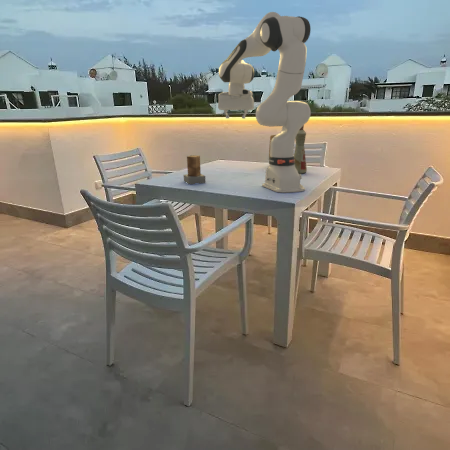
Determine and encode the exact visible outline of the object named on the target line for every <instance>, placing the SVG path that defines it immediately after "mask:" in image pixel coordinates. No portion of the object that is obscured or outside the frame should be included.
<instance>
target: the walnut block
mask: <svg viewBox="0 0 450 450" xmlns="http://www.w3.org/2000/svg"><path fill="white" fill-rule="evenodd" d="M186 163H187V165H186V167H187V174H188V176H195V177H197V176H199V175H201V174H202V173H201V171H202V170H201V155H196V154H195V155H192V154H191V155H187V156H186Z"/></svg>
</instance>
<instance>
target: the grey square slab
mask: <svg viewBox="0 0 450 450" xmlns="http://www.w3.org/2000/svg"><path fill="white" fill-rule="evenodd" d="M184 181H185V182H184ZM183 182H184V183H186V182H187V183H188V184H187V183H186V184H187V185H189V184H190V185H196V184H195V183H199V184H206V183H205V182H206V175H204V174H202V173H201V175H199V176H197V177H195V176H188V173H186V174H183Z"/></svg>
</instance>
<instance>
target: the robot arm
mask: <svg viewBox="0 0 450 450" xmlns="http://www.w3.org/2000/svg"><path fill="white" fill-rule="evenodd" d="M310 23H311V22H310V21H309V19H307V18H306V17H304V16H299V15H298V16H289V15H282V16H281V14H279V13H278V12H276V11H269V12H267V13H266V14H265V15H264V16H263V17H262V19H261V20H260V21H259V22H258V23H257V25H256V27H255V28H254V30H253V32H251V34H250V35H248V36H247V37H246V38H244V39H242V40H240V41H239V42H238V44H237V45H236V46H235V47H234V49H233V50H232V51H231V52H230V54H229V55H228V56H227V58H226V59H225V60H224V61H223V62H222V63H221V64H220V66H219V68H218V77H219V78H220V79H221V81H222V82H223V83H229V84H228V92H224V91H223V92H220V93H219V94H218V97H217V98H218V104H217V109H219V111H223V113H224V115H225V119H230V114H228V111H244V113H243V114H242V115H241V119H246V115H247V114H248V112H249V111H253V110H254V108H255V99H254V97H253V91H251V90H249V89H246V88H245V84H250V83H251V82H252V81H253V80H254V78H255V69H254V67H253V66H252V64H251V63H248V62H247V63H246V62H245V61H244V60H243V59H247V58H253V57H254V58H255V57H257V58H258V57H264V56H266V55H268V54H269V53H270V52H271V51H272V52H274V53H275V52H277V51H278V52H279V56H280V57H279V61H278V62H279V63H278V67H277V68H278V69H277V75H276V78H275V83H274V86H273V90H271V93H270V94H269V95H268V96H267V98H266V99H265V100H264V101H263V102H261V103H260V104H259V105H258V106H257V107H256V110H255V119H256V121H257V123H258V124H259V125H260V126H265V127H282V128H281V131H280V132H279V133H277V134H275V135H276V136H274V137H273V138H272V140H271V142H270V141H269V146H270V156H269V155H268V164H269V165H268V166H267V167H266V169H265V178H264V183H262V184H261V187H263V188H266V189H269V190H271V191H273V192H276V193H298V192H303V191H305V190H306V188H305V187H304V186H303V185H302V184H301V180H302V179H303V177H302V174H298V171H297V170H296V168H295V165H294V164H295V159H294V153H295V143H296V140H295V138H296V135H297V133H298V131H299V130H300V128H301V127H302V126H303V125H304V126H305V125H306V124H307V123H308V121H309V119H310V117H311V113H312V111H311V108H310V105H309V103H307V102H304V101H300V100H289V99H290V98H292V97H293V96H295V95H297V94H298V93H299V91H301V89H302V85H303V80H304V74H305V69H306V64H307V62H306V61H307V45H306V44H305V43H307V42H308V40H309V38H310V36H311V24H310Z"/></svg>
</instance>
